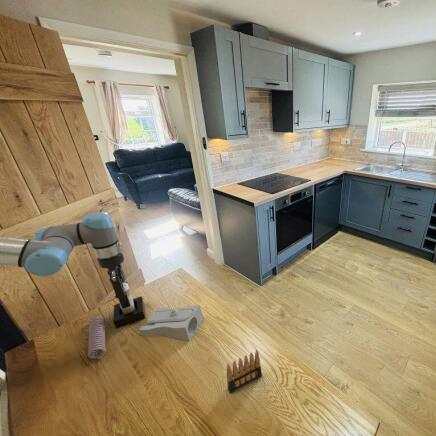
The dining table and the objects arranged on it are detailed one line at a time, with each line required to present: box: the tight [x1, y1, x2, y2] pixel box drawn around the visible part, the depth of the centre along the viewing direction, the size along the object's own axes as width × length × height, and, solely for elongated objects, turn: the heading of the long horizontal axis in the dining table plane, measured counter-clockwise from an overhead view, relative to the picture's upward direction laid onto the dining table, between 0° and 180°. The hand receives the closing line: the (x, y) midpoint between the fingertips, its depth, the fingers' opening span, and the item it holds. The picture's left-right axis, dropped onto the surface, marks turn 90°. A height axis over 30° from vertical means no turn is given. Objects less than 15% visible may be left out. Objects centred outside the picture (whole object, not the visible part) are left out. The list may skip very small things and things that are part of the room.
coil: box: [87, 316, 107, 360], centre depth 86 cm, size 5×5×18 cm
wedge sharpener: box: [138, 304, 204, 342], centre depth 92 cm, size 11×20×7 cm, turn 83°
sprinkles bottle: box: [117, 283, 137, 315], centre depth 95 cm, size 5×5×14 cm
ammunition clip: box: [226, 349, 263, 394], centre depth 72 cm, size 11×2×12 cm, turn 120°
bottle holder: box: [112, 295, 146, 330], centre depth 97 cm, size 10×10×4 cm
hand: (126, 303), depth 95 cm, fingers closed on sprinkles bottle, 4 cm apart
